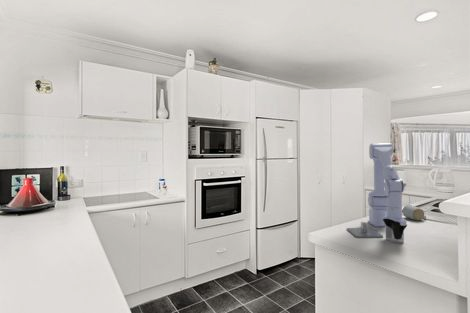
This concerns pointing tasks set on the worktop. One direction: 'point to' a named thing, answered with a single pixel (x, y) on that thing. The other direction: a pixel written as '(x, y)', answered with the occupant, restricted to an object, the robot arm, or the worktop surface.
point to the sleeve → (391, 236)
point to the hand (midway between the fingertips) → (394, 236)
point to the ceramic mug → (413, 212)
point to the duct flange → (364, 232)
